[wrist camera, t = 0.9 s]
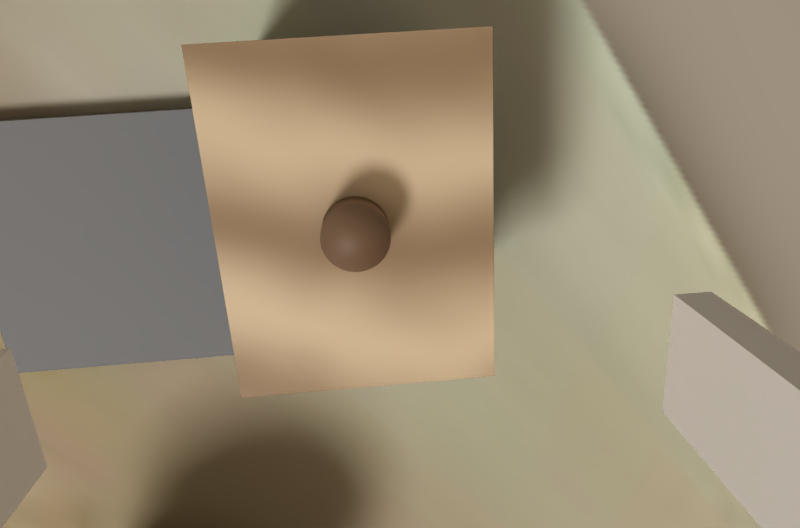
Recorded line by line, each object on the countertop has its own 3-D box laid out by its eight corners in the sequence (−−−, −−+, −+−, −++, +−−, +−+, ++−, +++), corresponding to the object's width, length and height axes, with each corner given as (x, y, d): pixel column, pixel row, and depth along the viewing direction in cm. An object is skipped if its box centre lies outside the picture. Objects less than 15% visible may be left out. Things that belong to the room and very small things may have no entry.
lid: (191, 44, 20) (170, 44, 18) (485, 27, 21) (501, 24, 19) (246, 381, 25) (235, 415, 23) (487, 361, 25) (501, 391, 23)
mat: (-56, 123, 26) (-65, 125, 26) (223, 105, 27) (221, 107, 26) (20, 367, 30) (13, 373, 30) (260, 346, 31) (259, 352, 30)
